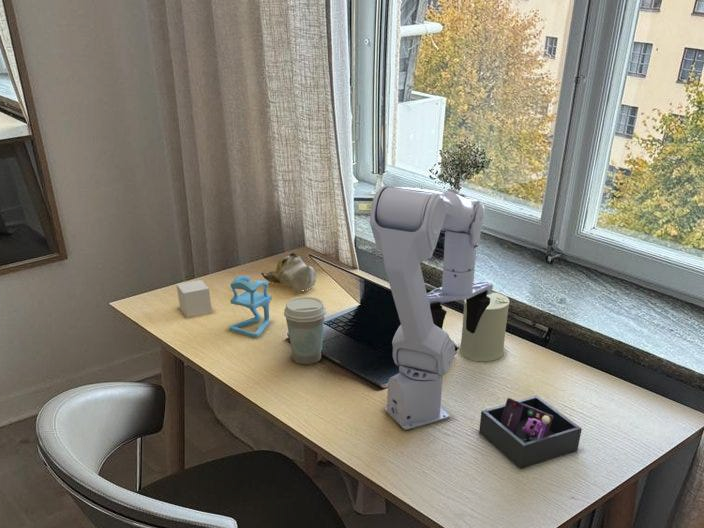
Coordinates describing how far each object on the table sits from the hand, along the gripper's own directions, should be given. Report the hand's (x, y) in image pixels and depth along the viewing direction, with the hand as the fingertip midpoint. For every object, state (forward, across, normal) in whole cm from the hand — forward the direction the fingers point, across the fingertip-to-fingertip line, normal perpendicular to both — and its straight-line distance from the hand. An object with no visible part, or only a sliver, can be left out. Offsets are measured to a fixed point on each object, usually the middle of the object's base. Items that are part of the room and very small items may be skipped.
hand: (453, 335), depth 149 cm
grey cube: (+10, +36, -55) cm, 66 cm away
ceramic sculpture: (+10, +10, -58) cm, 60 cm away
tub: (+9, 0, +26) cm, 27 cm away
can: (+10, -12, -7) cm, 17 cm away
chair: (+10, +27, -40) cm, 49 cm away
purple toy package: (+9, 0, +25) cm, 27 cm away
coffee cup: (+10, +22, -21) cm, 32 cm away
